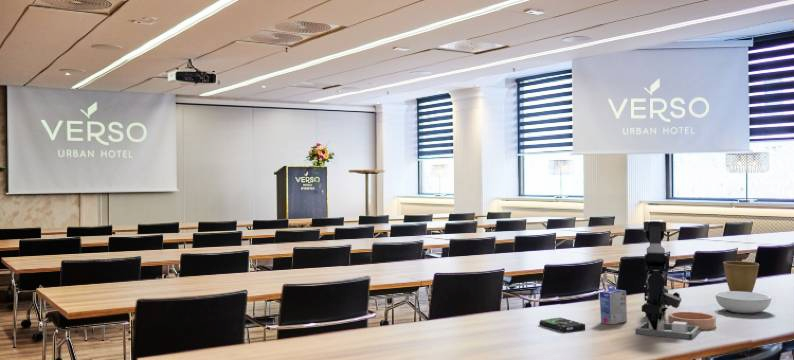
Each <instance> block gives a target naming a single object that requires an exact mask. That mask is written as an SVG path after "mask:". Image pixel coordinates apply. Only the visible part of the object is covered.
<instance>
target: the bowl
mask: <svg viewBox="0 0 794 360" xmlns="http://www.w3.org/2000/svg"><path fill="white" fill-rule="evenodd" d="M667 317H668V318H667V319H668V320H667V321H668V323H669V324H672V323H673V322H674V321H677V322H687V325H690V326H700V330H711V329H712V330H713V329H715V328H716V326H717V316H715V315H714V314H710V313H706V312H705V313H704V312H696V311H674V312H670V313H668V316H667Z"/></svg>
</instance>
